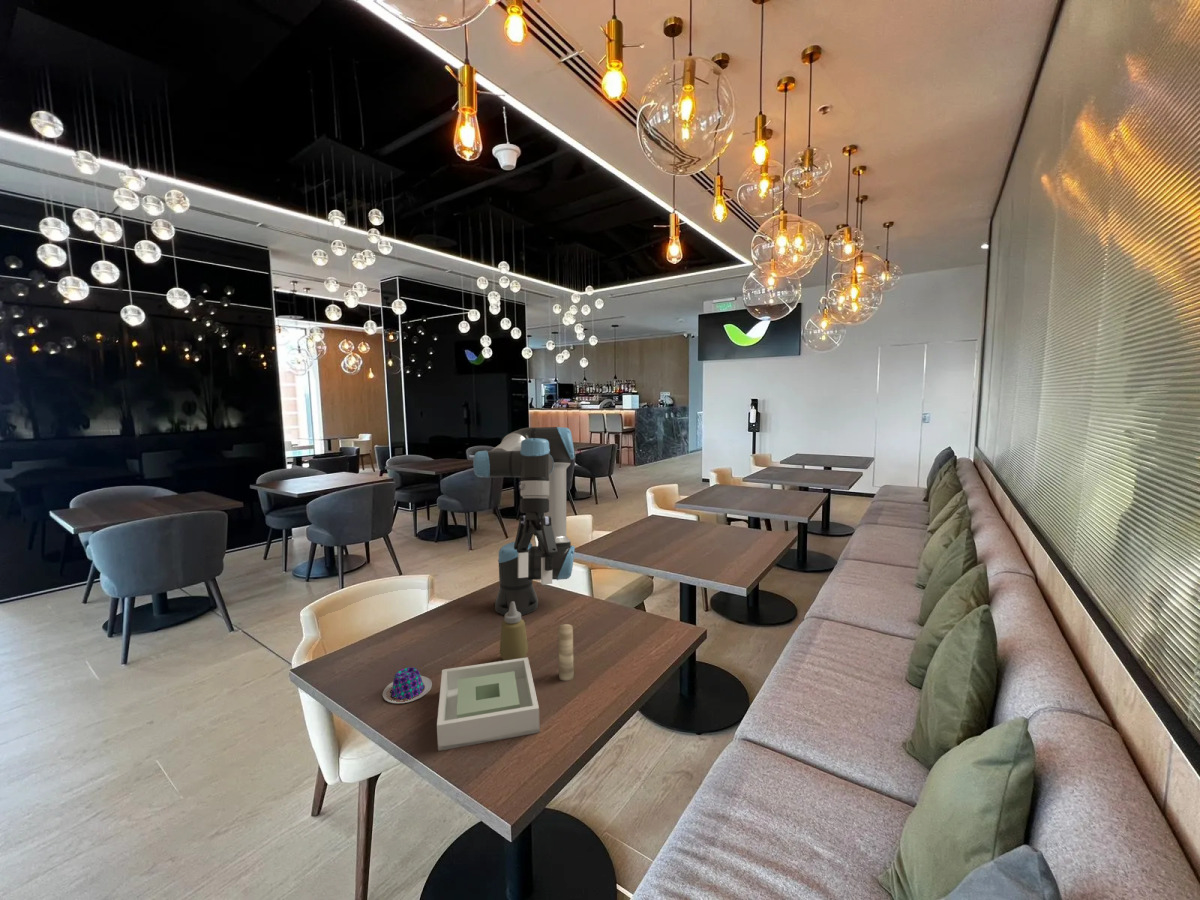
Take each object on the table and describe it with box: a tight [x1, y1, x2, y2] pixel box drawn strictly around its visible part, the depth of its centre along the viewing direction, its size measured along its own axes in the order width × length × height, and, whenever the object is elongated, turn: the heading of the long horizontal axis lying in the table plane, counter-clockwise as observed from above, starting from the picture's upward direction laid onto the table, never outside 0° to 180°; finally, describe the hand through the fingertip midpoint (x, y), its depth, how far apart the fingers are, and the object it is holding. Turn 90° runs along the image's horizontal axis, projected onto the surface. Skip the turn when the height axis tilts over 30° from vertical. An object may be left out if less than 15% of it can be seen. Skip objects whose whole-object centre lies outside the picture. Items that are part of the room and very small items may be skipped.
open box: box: [436, 656, 541, 752], centre depth 120 cm, size 22×22×6 cm
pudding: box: [382, 666, 433, 704], centre depth 128 cm, size 12×12×5 cm
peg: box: [557, 623, 575, 682], centre depth 133 cm, size 4×4×14 cm
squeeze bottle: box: [499, 601, 529, 661], centre depth 140 cm, size 8×8×18 cm
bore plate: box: [457, 671, 520, 719], centre depth 120 cm, size 14×14×4 cm
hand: (534, 580), depth 127 cm, fingers open, 13 cm apart
